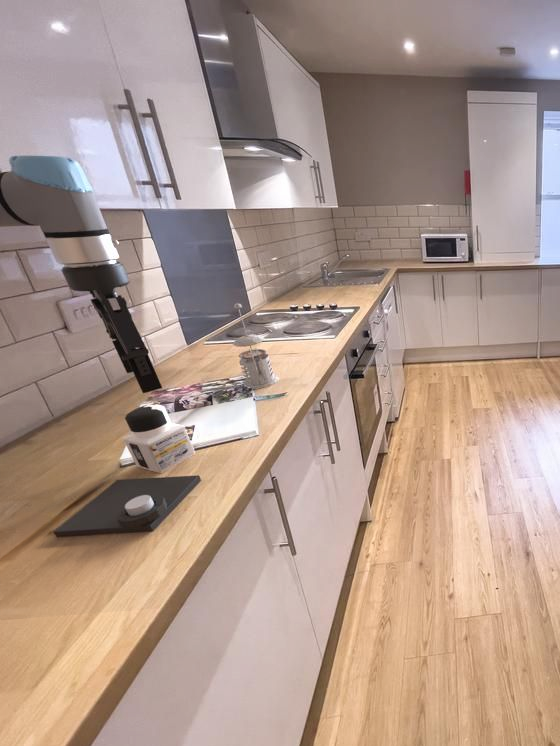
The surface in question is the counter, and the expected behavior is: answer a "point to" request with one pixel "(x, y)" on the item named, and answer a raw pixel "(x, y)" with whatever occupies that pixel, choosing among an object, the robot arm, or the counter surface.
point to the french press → (254, 361)
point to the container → (156, 439)
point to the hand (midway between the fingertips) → (143, 380)
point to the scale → (113, 517)
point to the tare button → (139, 505)
